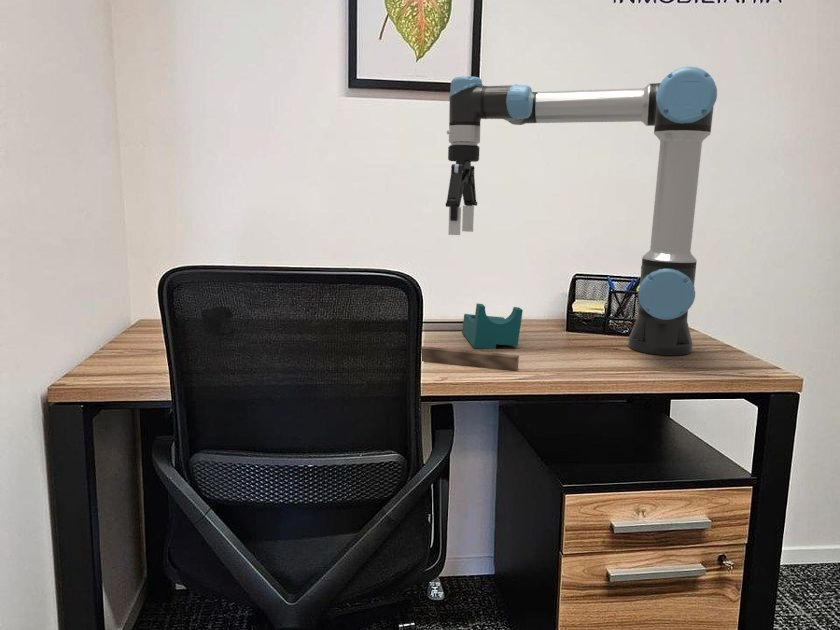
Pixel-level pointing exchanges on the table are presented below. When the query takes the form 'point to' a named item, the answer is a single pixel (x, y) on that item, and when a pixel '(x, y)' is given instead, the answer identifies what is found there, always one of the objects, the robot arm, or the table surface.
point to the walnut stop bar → (470, 358)
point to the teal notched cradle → (492, 328)
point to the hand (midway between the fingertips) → (461, 233)
